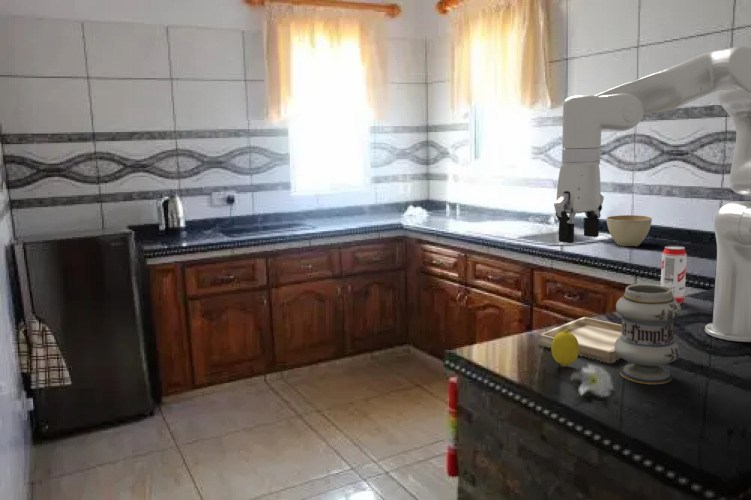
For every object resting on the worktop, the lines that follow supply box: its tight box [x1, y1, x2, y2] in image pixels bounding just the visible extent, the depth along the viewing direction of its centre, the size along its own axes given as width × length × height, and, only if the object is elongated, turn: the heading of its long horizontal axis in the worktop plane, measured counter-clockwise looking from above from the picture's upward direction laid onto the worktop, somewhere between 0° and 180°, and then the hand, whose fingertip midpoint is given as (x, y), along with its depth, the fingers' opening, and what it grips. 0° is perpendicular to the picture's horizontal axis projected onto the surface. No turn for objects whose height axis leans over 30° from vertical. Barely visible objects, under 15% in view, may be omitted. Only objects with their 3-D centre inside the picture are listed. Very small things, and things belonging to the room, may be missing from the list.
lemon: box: [550, 330, 579, 368], centre depth 130 cm, size 6×6×8 cm
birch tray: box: [537, 316, 622, 364], centre depth 144 cm, size 20×18×2 cm
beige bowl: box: [606, 214, 653, 247], centre depth 268 cm, size 18×18×12 cm
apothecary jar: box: [614, 283, 682, 385], centre depth 123 cm, size 12×12×18 cm
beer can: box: [660, 245, 688, 305], centre depth 176 cm, size 6×6×16 cm
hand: (578, 239), depth 131 cm, fingers open, 9 cm apart
